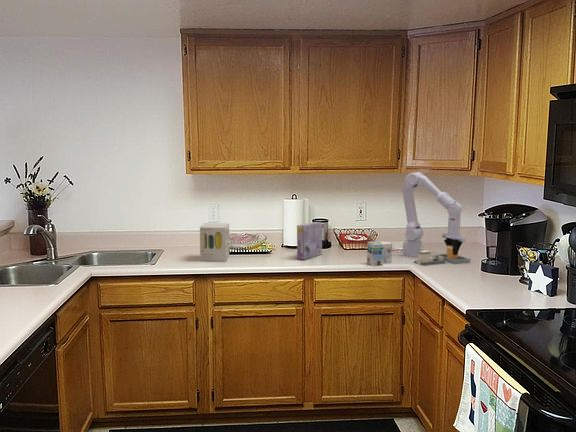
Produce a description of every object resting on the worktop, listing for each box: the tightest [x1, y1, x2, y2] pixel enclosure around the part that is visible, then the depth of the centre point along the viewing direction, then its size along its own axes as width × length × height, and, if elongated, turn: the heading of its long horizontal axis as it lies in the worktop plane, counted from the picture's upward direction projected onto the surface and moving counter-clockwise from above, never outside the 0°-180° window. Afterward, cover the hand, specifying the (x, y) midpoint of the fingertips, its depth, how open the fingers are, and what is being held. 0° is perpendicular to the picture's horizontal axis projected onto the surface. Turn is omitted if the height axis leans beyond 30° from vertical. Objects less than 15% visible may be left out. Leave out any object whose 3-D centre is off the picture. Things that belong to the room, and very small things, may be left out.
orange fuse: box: [446, 245, 459, 260], centre depth 278 cm, size 3×5×6 cm
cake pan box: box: [296, 221, 323, 261], centre depth 288 cm, size 19×5×18 cm, turn 146°
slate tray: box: [434, 253, 471, 265], centre depth 278 cm, size 14×10×3 cm
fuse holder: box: [412, 256, 448, 267], centre depth 273 cm, size 9×14×4 cm, turn 114°
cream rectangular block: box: [417, 250, 431, 263], centre depth 271 cm, size 3×5×6 cm
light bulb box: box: [366, 240, 393, 267], centre depth 273 cm, size 11×7×11 cm, turn 105°
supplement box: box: [199, 222, 230, 263], centre depth 282 cm, size 13×13×18 cm
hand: (452, 254), depth 278 cm, fingers closed on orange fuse, 3 cm apart
